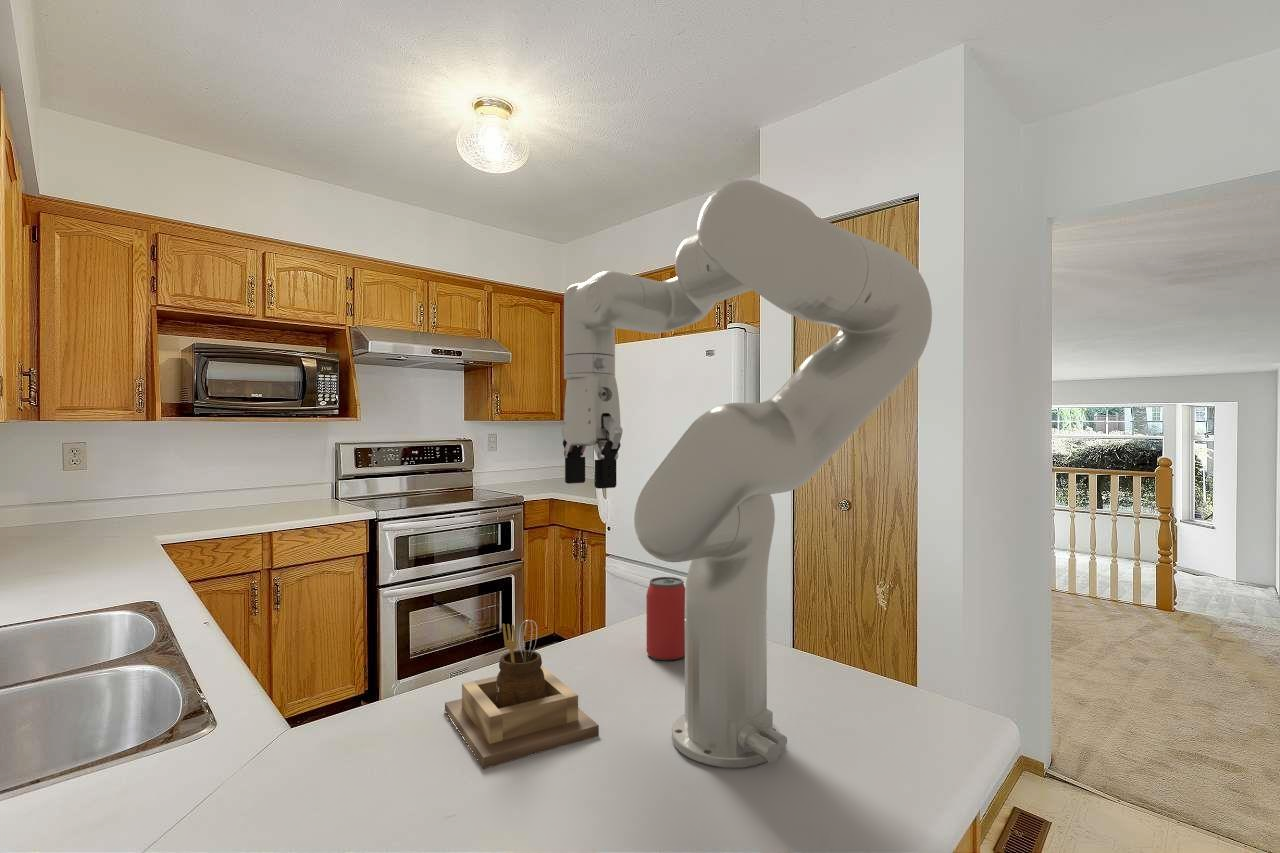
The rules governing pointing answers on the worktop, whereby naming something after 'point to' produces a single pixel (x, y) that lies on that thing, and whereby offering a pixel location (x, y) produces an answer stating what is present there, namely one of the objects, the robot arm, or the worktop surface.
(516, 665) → the utensil holder
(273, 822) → the worktop surface
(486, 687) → the socket board
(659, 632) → the beer can
